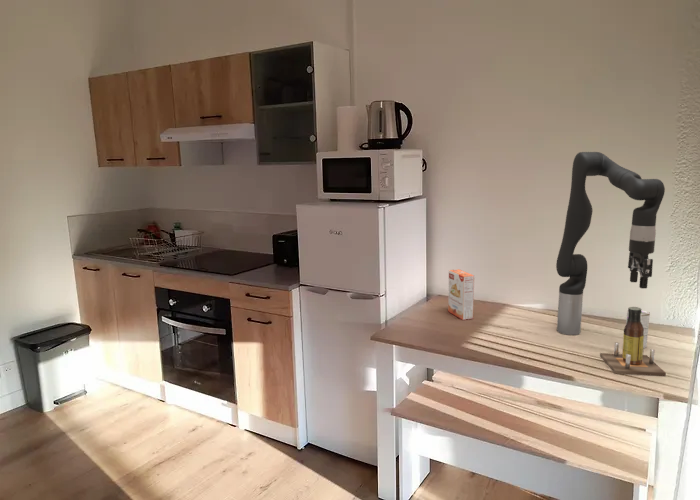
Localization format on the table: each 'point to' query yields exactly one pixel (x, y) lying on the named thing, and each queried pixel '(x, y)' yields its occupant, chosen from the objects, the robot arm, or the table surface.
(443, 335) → the table surface
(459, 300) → the cracker box
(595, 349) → the table surface
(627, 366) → the metal pins
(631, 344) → the sauce bottle
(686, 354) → the table surface
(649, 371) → the board
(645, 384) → the table surface
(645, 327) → the syrup box
